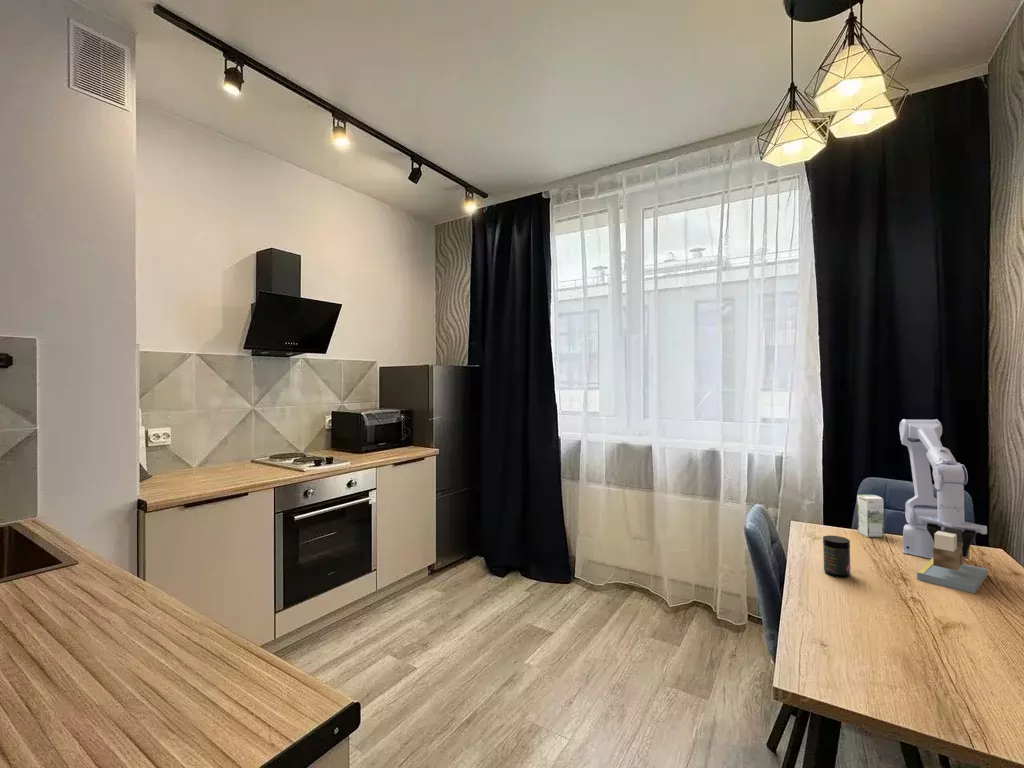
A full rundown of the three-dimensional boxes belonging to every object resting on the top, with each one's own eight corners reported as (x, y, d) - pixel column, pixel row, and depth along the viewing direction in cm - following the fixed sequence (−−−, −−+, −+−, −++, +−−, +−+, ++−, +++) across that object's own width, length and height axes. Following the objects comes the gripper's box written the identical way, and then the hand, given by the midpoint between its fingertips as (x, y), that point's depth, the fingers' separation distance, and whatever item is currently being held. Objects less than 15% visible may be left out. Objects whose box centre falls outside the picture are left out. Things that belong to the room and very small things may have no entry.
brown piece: (933, 565, 134) (933, 547, 134) (947, 552, 143) (946, 535, 143) (957, 570, 130) (956, 552, 130) (969, 556, 139) (969, 539, 139)
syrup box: (873, 532, 177) (872, 494, 177) (884, 537, 171) (883, 497, 171) (857, 532, 178) (856, 494, 178) (867, 537, 172) (866, 497, 172)
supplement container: (848, 580, 137) (847, 544, 137) (820, 574, 142) (819, 539, 142) (853, 573, 141) (852, 538, 141) (826, 567, 146) (825, 533, 146)
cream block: (934, 548, 134) (934, 533, 134) (938, 544, 136) (937, 530, 136) (953, 551, 130) (953, 537, 130) (957, 548, 133) (956, 534, 133)
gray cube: (944, 538, 141) (944, 525, 141) (947, 535, 143) (947, 522, 143) (963, 542, 138) (962, 528, 138) (965, 539, 140) (965, 525, 140)
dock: (917, 579, 136) (916, 572, 136) (933, 563, 147) (933, 556, 147) (974, 593, 126) (974, 585, 126) (987, 575, 137) (987, 568, 137)
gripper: (914, 503, 140) (915, 549, 140) (982, 513, 129) (984, 563, 129) (920, 499, 144) (922, 544, 144) (987, 508, 133) (989, 557, 133)
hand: (951, 553), depth 137 cm, fingers closed on brown piece, 5 cm apart
